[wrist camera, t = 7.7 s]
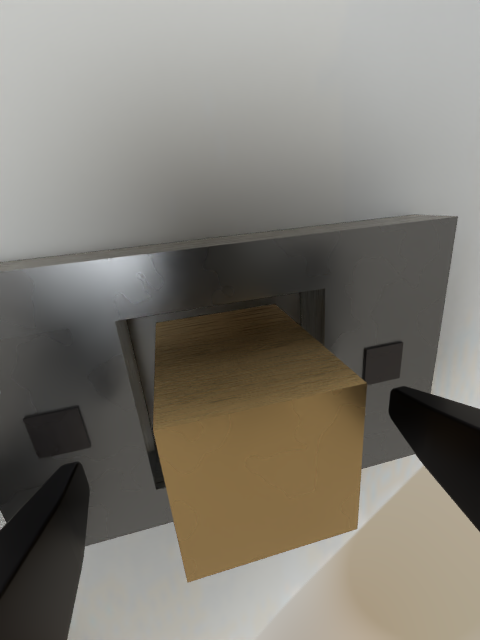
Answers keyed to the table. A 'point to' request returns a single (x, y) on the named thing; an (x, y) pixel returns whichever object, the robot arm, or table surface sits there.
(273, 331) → the wooden block
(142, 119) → the table surface
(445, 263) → the grey slotted plate
